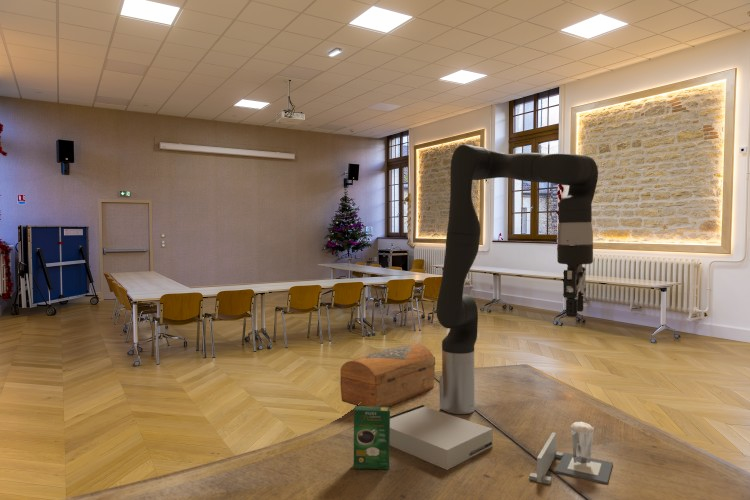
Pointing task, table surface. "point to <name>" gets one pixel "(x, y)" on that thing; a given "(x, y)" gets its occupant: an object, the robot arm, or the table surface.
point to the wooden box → (387, 376)
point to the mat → (585, 469)
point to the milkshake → (582, 443)
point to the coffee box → (371, 437)
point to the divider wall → (546, 460)
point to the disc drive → (438, 436)
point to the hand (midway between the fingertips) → (575, 313)
